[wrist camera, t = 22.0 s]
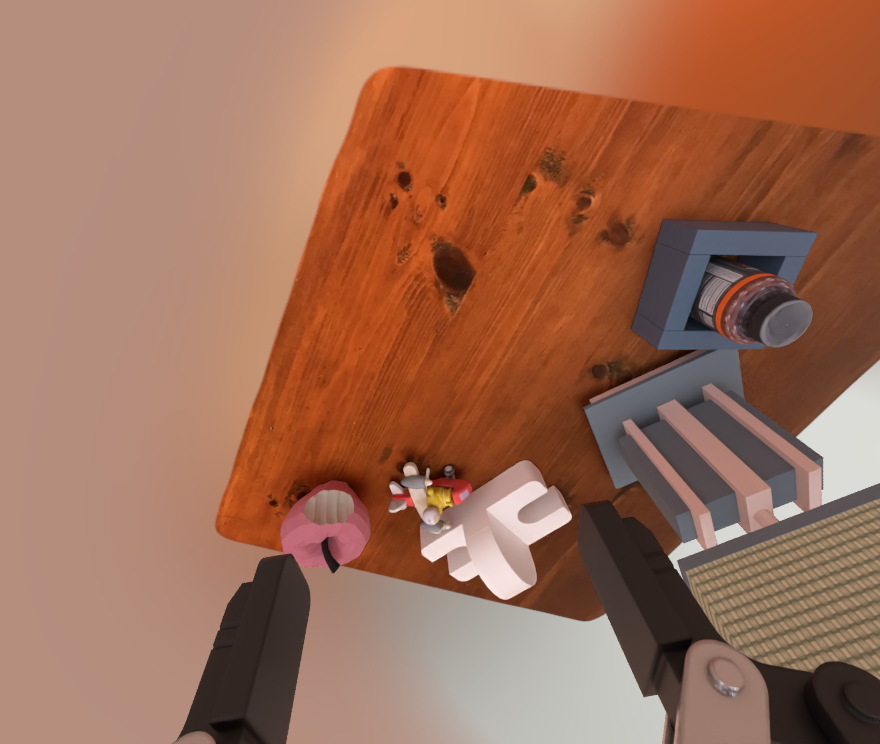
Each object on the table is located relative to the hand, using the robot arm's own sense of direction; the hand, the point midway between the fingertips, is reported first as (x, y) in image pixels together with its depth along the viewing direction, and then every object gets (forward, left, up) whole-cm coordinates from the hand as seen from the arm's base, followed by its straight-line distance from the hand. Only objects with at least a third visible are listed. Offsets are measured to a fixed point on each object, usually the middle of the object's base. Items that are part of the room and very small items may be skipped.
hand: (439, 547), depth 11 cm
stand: (+1, +29, -30) cm, 42 cm away
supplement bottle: (+1, +29, -30) cm, 42 cm away
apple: (+28, -9, -30) cm, 42 cm away
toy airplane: (+27, +2, -30) cm, 41 cm away
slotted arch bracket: (+33, +11, -30) cm, 46 cm away
